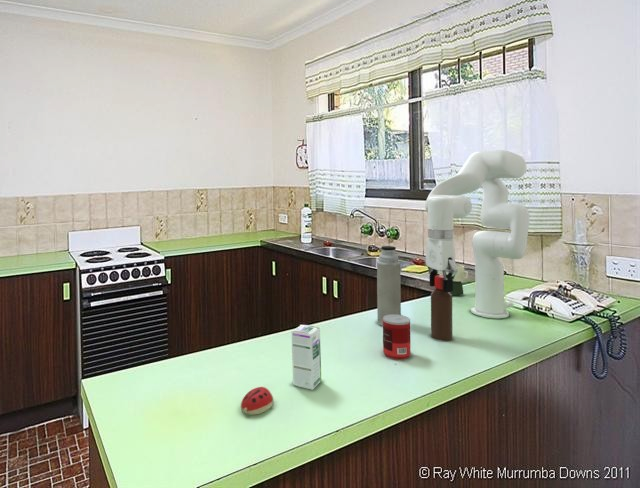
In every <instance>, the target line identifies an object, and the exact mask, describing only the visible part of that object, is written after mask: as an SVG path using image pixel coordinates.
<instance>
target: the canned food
mask: <svg viewBox="0 0 640 488" xmlns="http://www.w3.org/2000/svg"><path fill="white" fill-rule="evenodd" d="M382 351H383V355H384V356H385V357H387V358H389V359H392V360H406V359H408V358H409V357H410V356H411V319H410V318H409V317H408V316H406V315H403V314H401V315H395V314H392V315H386V316H384V317H383V326H382Z"/></svg>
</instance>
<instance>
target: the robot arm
mask: <svg viewBox="0 0 640 488" xmlns="http://www.w3.org/2000/svg"><path fill="white" fill-rule="evenodd" d="M526 171H527V162H526V160H525V158H524V157H523V156H521V155H520V154H517V153H514V152H512V151H509V150H505V149H503V150H502V149H501V150H500V149H498V150H480V151H479V150H478V151H475V152H473V153H471V154H470V155H469V156H468V158H467V159H466V161H465V162H464V164H462V167H461V168H460V170H458V173H456V174H454V175H452V176H450V177H448V178H447V179H445V180H443V181H441V182H439V183H438V184H436V185H435V186H434V187H433V188H432V190H431V191H430V192H429V194H428V196H427V198H426V200H425V204H424V207H425V211H426V213H427V239H426V245H425V266H426V267H427V269H428V274H429V287H435V275H440V274H439V272H442V275H443V276H444V279H443V292H453V280H454V277H455V274H456V273H457V272H458V270H457V268H456V266H455V264H456V249H455V243H454V218H455V219H462V218H466V217H468V216H469V215H470V214H471V212H472V209H473V204H472V201H471V199H470V198H468V197H467V196H465V195H467V194H469V193H473V192H475V191H477V190H479V189H480V188H481V187H482V198H481V199H482V200H481V207H480V215H479V216H480V217H479V218H480V223H481V225H482V226H484V227H486V228H491V229H502V230H510V231H509V232H507V231H498V230H479V231H477V232H475V233H474V234H473V236H472V239H471V242H472V243H471V245H472V249H473V254H474V272H475V273H474V276H475V277H474V278H475V279H474V280H475V282H474V284H475V286H474V287H475V288H474V290H475V291H474V294H475V295H474V297H475V298H474V299H475V300H474V301H475V303H474V304H475V305H474V306H472V307H471V308H470V312H471V313H472V314H473V315H475V316H478V317H482V318H488V319H506V318H508V317H510V313H509V311H508V310H507V309H510V308H514V303H513V301H509V302H508V301H507V302H506V301H505V268H504V266H503V263H502V262H501V261H500V259H499V258H501V259H510V260H520V259H522V258H524V256H525V254H526V251H527V247H528V246H527V245H528V237H529V236H528V234H529V228H530V214H529V210H528V208H527V207H526V205H523V204H520V203H509V189H508V187H507V186H506V185H505V184H504V182H503V181H502V179H520V178H522V177H524V175H525V173H526ZM446 269H448V270H446ZM446 272H449V273H448V275H447V274H446Z"/></svg>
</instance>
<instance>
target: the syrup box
mask: <svg viewBox="0 0 640 488" xmlns="http://www.w3.org/2000/svg"><path fill="white" fill-rule="evenodd" d="M321 351H322V349H321V328H320V327H318V326H314V325H309V324H299V326H297V327H296V328H294V329H293V330H291V358H292V359H291V360H292V361H291V362H292V384H293V386H296V387H300V388H303V389H306V390H311V391H313V390H315V388H316V387H317V386H318V385H319V384H320V383H321V382H322V358H321V357H322V356H321V354H322V352H321Z"/></svg>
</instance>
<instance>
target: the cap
mask: <svg viewBox="0 0 640 488" xmlns="http://www.w3.org/2000/svg"><path fill="white" fill-rule="evenodd" d="M443 279H444V276H443V274H439V275H435V286H434V288H435V289H436V288H437V289H443Z"/></svg>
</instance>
